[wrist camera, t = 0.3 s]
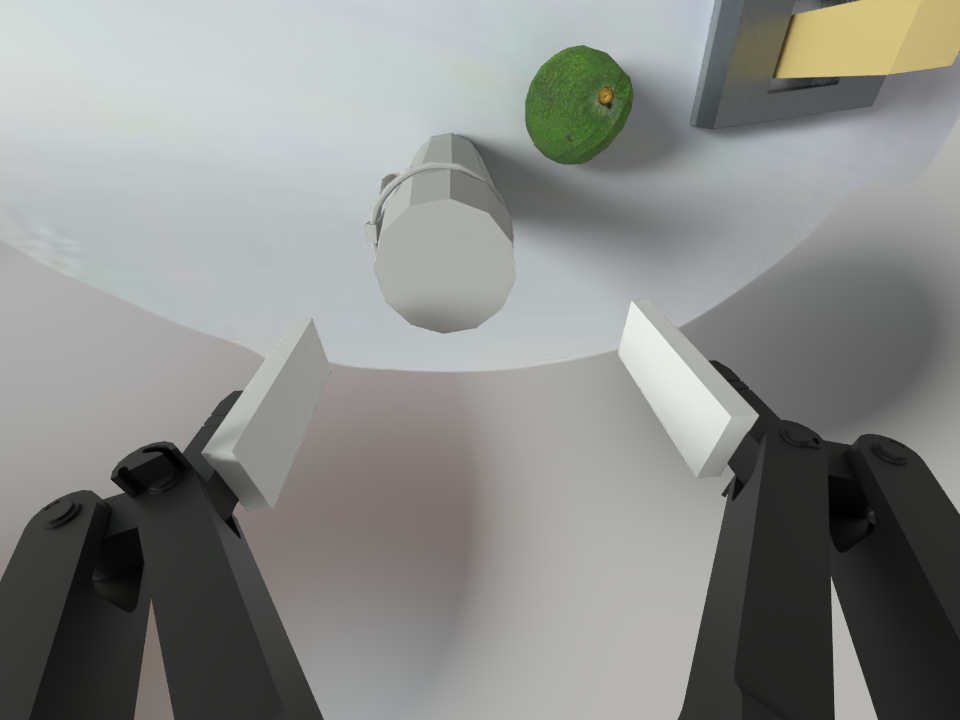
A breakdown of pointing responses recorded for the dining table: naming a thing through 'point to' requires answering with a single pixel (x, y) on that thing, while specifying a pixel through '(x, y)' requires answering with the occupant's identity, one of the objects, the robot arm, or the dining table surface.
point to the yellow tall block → (870, 39)
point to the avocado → (577, 104)
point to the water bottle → (443, 239)
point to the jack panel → (766, 69)
